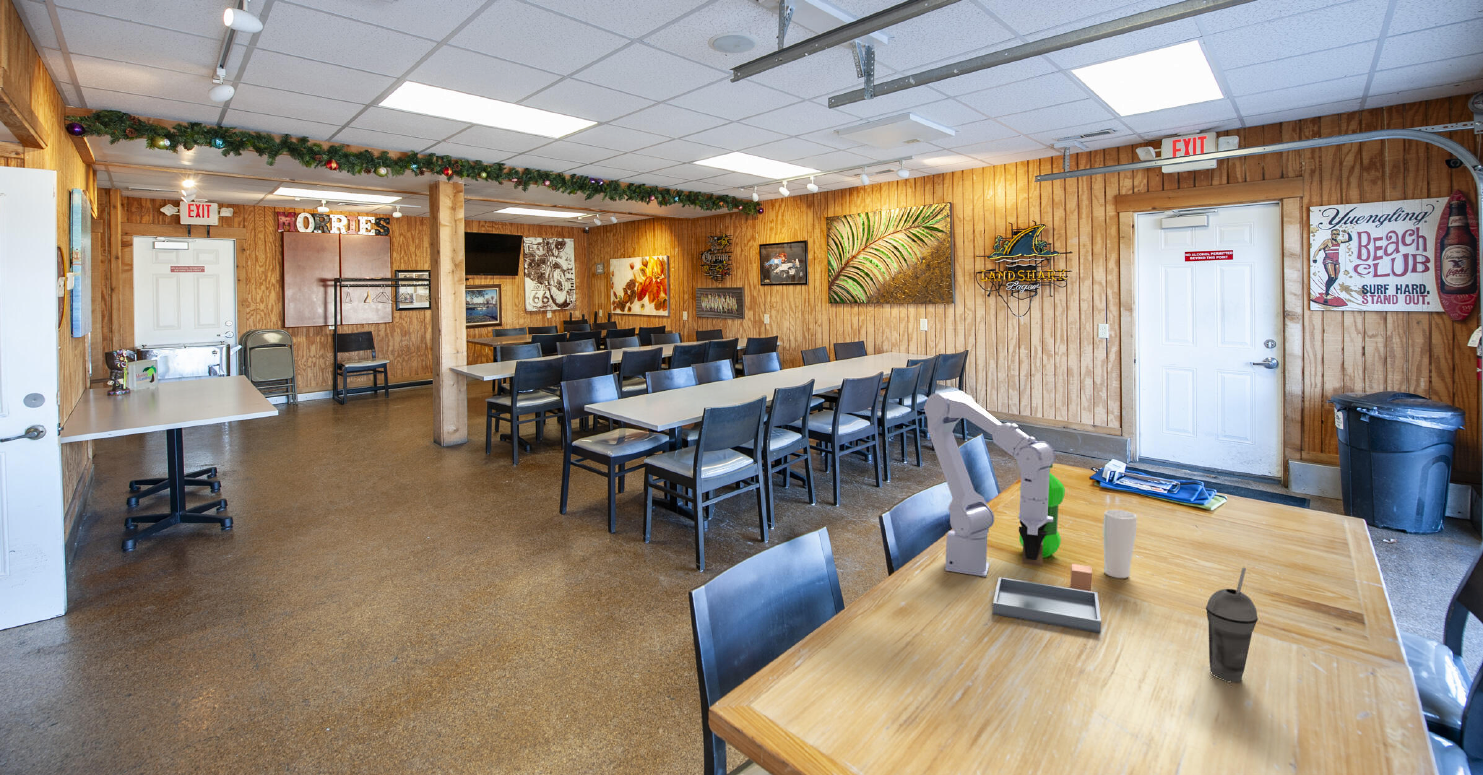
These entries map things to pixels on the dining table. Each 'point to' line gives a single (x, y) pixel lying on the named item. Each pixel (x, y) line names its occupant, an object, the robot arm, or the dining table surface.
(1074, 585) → the terracotta block
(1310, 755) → the dining table surface
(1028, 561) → the walnut block
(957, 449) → the robot arm
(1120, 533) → the drinking glass
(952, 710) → the dining table surface
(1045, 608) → the tray
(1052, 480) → the plastic bottle
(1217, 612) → the beverage cup
